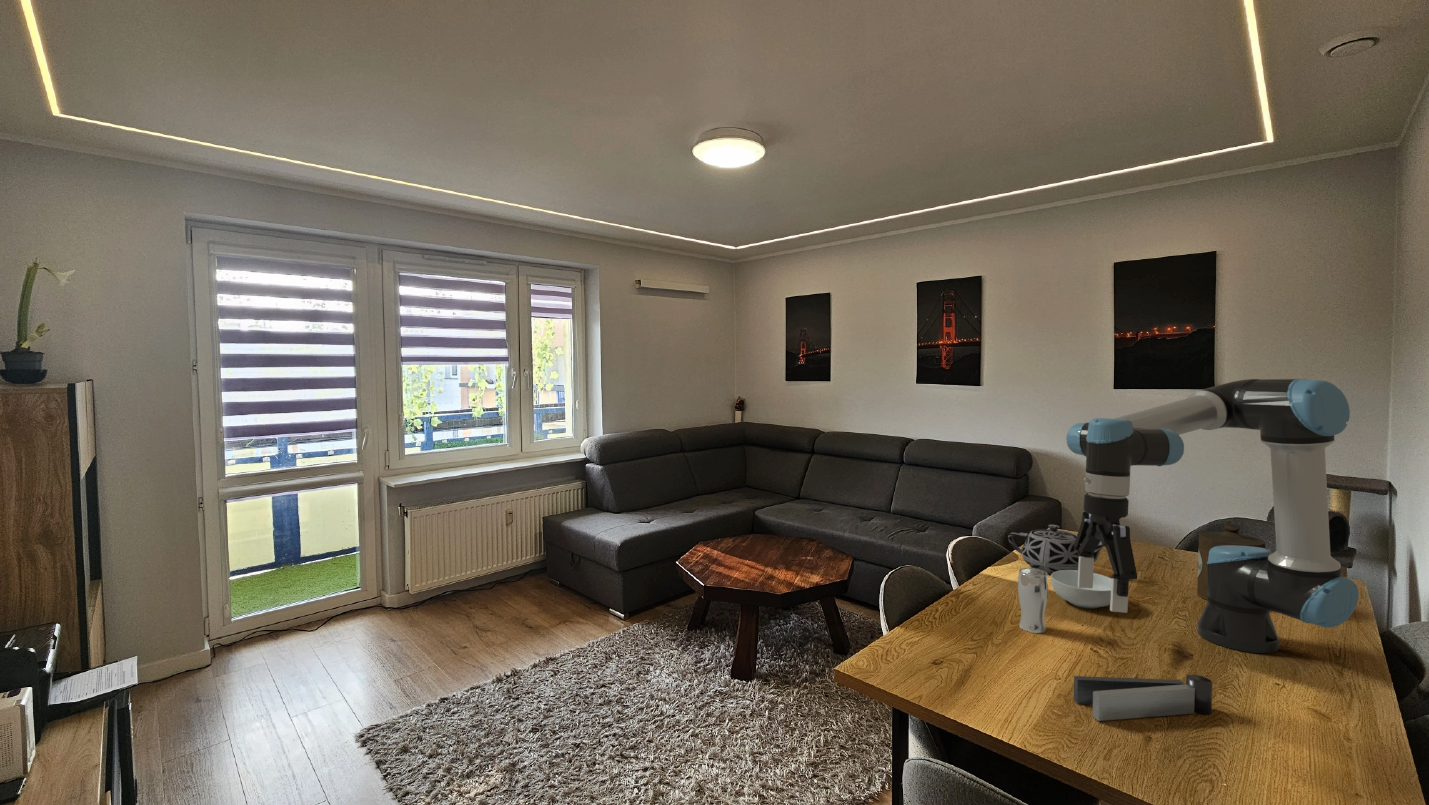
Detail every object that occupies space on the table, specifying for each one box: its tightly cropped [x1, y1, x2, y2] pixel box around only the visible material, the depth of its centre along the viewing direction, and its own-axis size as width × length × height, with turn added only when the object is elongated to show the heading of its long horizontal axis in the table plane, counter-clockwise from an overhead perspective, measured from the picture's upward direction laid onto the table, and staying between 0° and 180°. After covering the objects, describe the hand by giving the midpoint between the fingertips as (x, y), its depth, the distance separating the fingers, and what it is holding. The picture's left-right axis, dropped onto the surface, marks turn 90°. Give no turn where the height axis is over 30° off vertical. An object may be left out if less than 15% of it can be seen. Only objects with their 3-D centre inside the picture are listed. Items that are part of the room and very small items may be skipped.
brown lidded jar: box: [1196, 523, 1266, 601], centre depth 172 cm, size 15×15×22 cm
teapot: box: [1007, 524, 1105, 575], centre depth 201 cm, size 19×31×15 cm, turn 47°
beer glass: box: [1017, 567, 1049, 634], centre depth 155 cm, size 7×7×15 cm
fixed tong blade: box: [1073, 674, 1213, 716], centre depth 119 cm, size 24×4×6 cm, turn 84°
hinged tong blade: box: [1092, 683, 1195, 722], centre depth 115 cm, size 20×2×5 cm, turn 96°
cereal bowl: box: [1050, 570, 1112, 609], centre depth 172 cm, size 17×17×7 cm
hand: (1100, 599), depth 121 cm, fingers open, 13 cm apart
